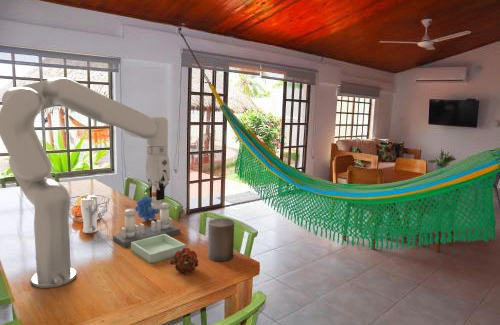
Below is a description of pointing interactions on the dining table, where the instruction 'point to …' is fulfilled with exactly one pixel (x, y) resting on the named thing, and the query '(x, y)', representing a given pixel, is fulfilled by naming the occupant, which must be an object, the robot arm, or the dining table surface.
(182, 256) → the dark red rosette
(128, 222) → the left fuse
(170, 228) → the fuse holder
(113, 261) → the dining table surface
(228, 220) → the pillar candle
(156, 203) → the cylinder
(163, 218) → the ball
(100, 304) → the dining table surface
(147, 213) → the grapes
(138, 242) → the tray
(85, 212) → the beer glass
